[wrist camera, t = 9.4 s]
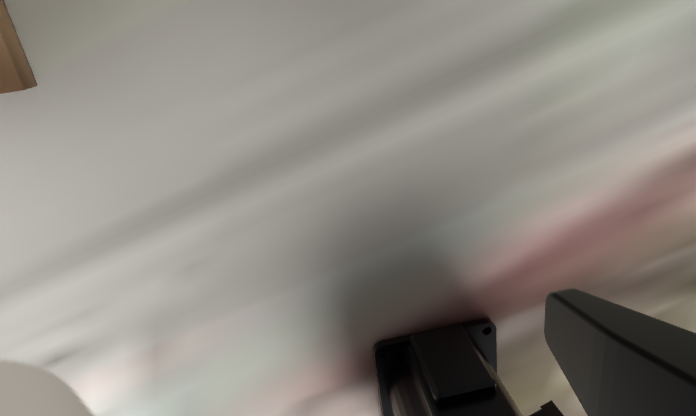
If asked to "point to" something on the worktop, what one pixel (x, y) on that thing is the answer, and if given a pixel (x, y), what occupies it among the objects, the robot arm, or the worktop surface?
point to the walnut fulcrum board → (12, 58)
